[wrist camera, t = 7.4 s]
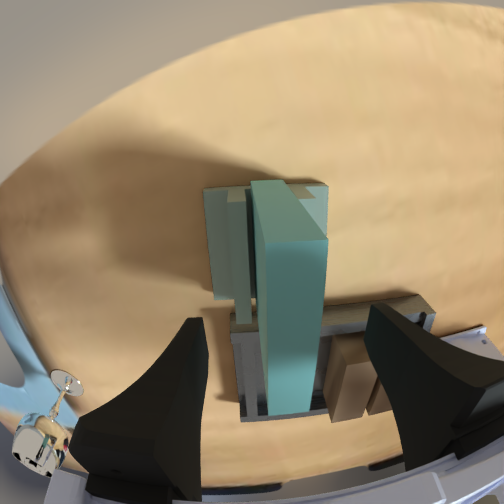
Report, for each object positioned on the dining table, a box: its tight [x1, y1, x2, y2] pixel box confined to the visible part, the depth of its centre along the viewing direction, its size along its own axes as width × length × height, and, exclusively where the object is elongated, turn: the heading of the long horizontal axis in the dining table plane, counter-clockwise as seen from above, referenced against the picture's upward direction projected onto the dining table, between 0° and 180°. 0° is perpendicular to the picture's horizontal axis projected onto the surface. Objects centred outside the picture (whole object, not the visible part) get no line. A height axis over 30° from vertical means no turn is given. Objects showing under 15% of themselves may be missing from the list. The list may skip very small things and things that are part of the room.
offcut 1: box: [323, 331, 378, 423], centre depth 24 cm, size 3×8×4 cm, turn 2°
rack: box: [230, 295, 436, 422], centre depth 25 cm, size 17×12×3 cm
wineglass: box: [12, 370, 84, 477], centre depth 22 cm, size 6×6×12 cm
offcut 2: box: [366, 376, 392, 415], centre depth 24 cm, size 3×8×4 cm, turn 2°
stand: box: [203, 183, 328, 324], centre depth 19 cm, size 8×8×4 cm
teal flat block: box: [250, 179, 328, 416], centre depth 16 cm, size 2×9×10 cm, turn 3°
